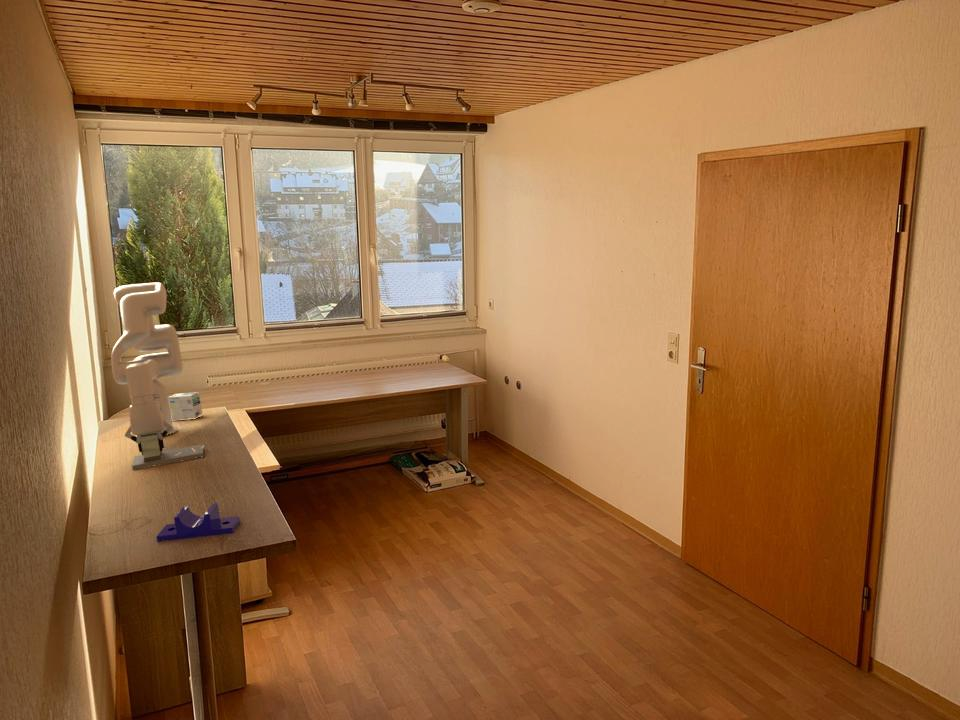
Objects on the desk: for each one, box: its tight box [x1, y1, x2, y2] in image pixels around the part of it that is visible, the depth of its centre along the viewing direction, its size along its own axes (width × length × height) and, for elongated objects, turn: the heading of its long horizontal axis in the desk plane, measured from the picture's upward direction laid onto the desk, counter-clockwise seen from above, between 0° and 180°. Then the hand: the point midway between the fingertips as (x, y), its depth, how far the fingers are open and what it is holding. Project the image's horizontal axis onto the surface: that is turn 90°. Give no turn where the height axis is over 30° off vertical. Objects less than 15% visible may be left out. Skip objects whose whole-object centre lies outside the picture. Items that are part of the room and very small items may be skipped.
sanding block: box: [140, 432, 162, 462], centre depth 240 cm, size 9×5×8 cm, turn 22°
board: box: [131, 444, 205, 471], centre depth 243 cm, size 12×23×2 cm, turn 112°
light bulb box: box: [168, 391, 203, 420], centre depth 300 cm, size 11×7×11 cm, turn 84°
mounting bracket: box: [156, 502, 241, 543], centre depth 176 cm, size 18×7×6 cm, turn 95°
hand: (152, 451), depth 241 cm, fingers closed on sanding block, 5 cm apart
